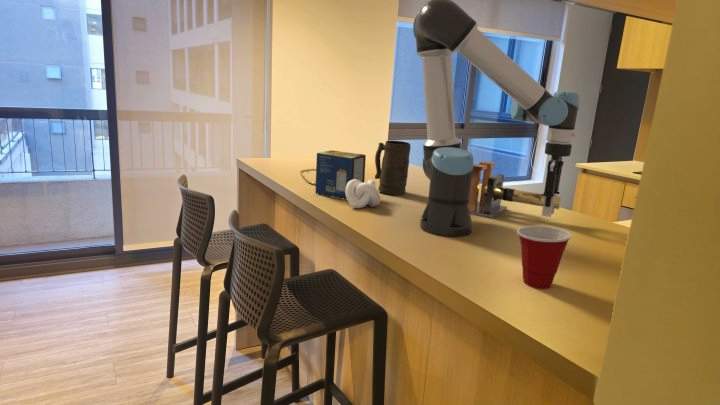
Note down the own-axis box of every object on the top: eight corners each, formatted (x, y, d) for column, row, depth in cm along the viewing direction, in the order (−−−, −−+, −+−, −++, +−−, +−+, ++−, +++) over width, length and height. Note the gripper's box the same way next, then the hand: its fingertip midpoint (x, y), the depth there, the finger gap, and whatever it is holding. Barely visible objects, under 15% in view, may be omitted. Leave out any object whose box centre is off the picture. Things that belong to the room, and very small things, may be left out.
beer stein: (411, 192, 182) (415, 142, 178) (399, 197, 174) (403, 144, 169) (378, 186, 190) (381, 138, 186) (364, 190, 181) (367, 139, 177)
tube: (557, 210, 146) (559, 197, 144) (483, 198, 158) (484, 185, 157) (559, 208, 149) (561, 195, 148) (486, 196, 161) (488, 184, 160)
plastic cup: (509, 270, 107) (516, 220, 104) (559, 278, 104) (568, 227, 101) (510, 288, 97) (518, 234, 94) (565, 297, 94) (575, 242, 91)
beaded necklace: (310, 188, 182) (310, 184, 182) (296, 172, 215) (296, 168, 214) (355, 188, 188) (356, 184, 187) (336, 172, 220) (336, 168, 220)
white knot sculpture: (352, 211, 150) (353, 184, 148) (338, 202, 161) (339, 177, 158) (383, 209, 155) (384, 183, 152) (368, 201, 165) (369, 176, 163)
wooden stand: (493, 218, 151) (500, 169, 147) (442, 208, 160) (447, 162, 156) (506, 209, 164) (512, 164, 160) (458, 200, 173) (463, 158, 169)
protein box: (330, 189, 181) (331, 150, 177) (364, 195, 173) (366, 154, 170) (314, 193, 172) (315, 152, 168) (349, 200, 165) (351, 157, 161)
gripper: (567, 145, 135) (555, 222, 140) (576, 142, 149) (564, 211, 155) (540, 143, 139) (529, 217, 144) (551, 139, 153) (541, 207, 158)
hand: (547, 214), depth 149 cm, fingers closed on tube, 4 cm apart
